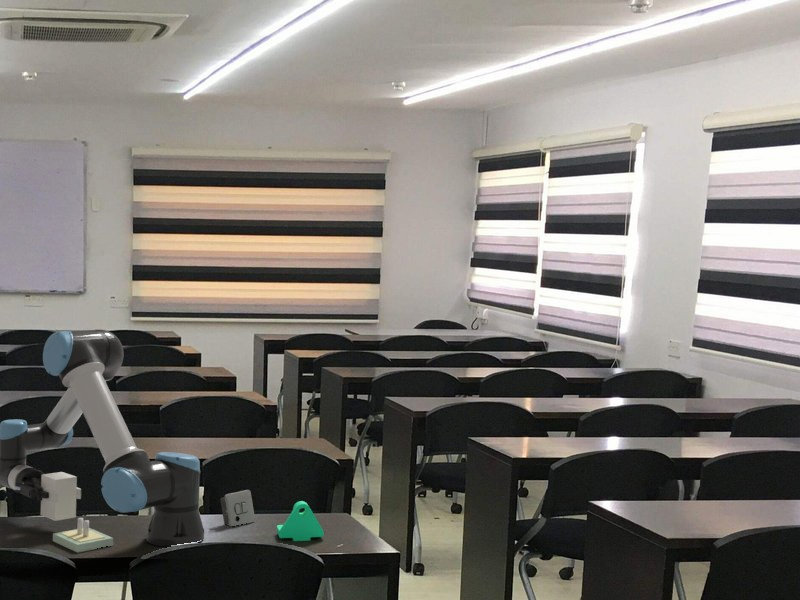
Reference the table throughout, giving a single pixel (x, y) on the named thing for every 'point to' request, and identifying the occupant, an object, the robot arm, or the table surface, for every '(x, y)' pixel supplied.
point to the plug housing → (59, 496)
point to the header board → (82, 538)
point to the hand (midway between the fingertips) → (68, 495)
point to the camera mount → (300, 524)
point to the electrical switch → (237, 508)
